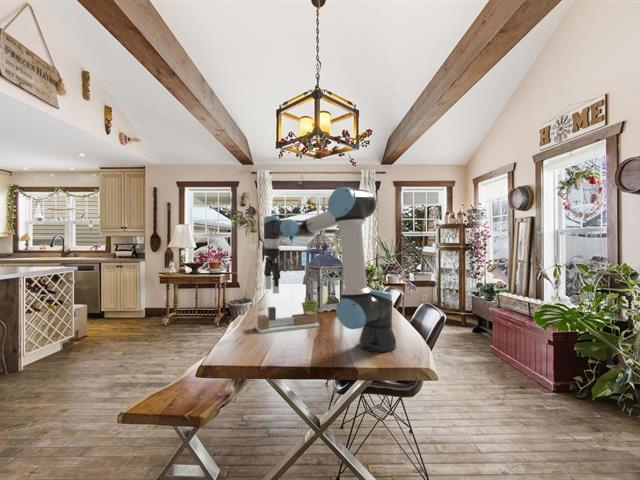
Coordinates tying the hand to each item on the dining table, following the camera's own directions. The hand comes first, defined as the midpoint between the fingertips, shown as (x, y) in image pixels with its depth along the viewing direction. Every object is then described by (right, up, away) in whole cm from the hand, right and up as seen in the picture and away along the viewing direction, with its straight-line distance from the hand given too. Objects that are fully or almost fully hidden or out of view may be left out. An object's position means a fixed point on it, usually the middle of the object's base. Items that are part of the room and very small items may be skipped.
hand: (271, 291), depth 167 cm
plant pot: (+18, -19, +21) cm, 33 cm away
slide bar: (+4, -17, +2) cm, 18 cm away
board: (+7, -19, +3) cm, 20 cm away
